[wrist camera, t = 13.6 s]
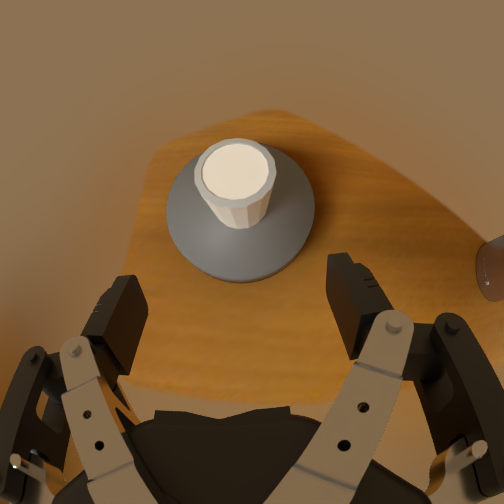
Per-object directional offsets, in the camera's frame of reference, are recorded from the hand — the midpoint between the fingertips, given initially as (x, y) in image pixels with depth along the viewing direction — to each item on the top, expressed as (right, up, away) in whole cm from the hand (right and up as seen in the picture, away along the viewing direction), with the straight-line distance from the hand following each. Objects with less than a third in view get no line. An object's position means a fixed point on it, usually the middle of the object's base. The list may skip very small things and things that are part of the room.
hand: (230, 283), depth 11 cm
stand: (0, +6, +21) cm, 22 cm away
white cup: (0, +6, +18) cm, 19 cm away
